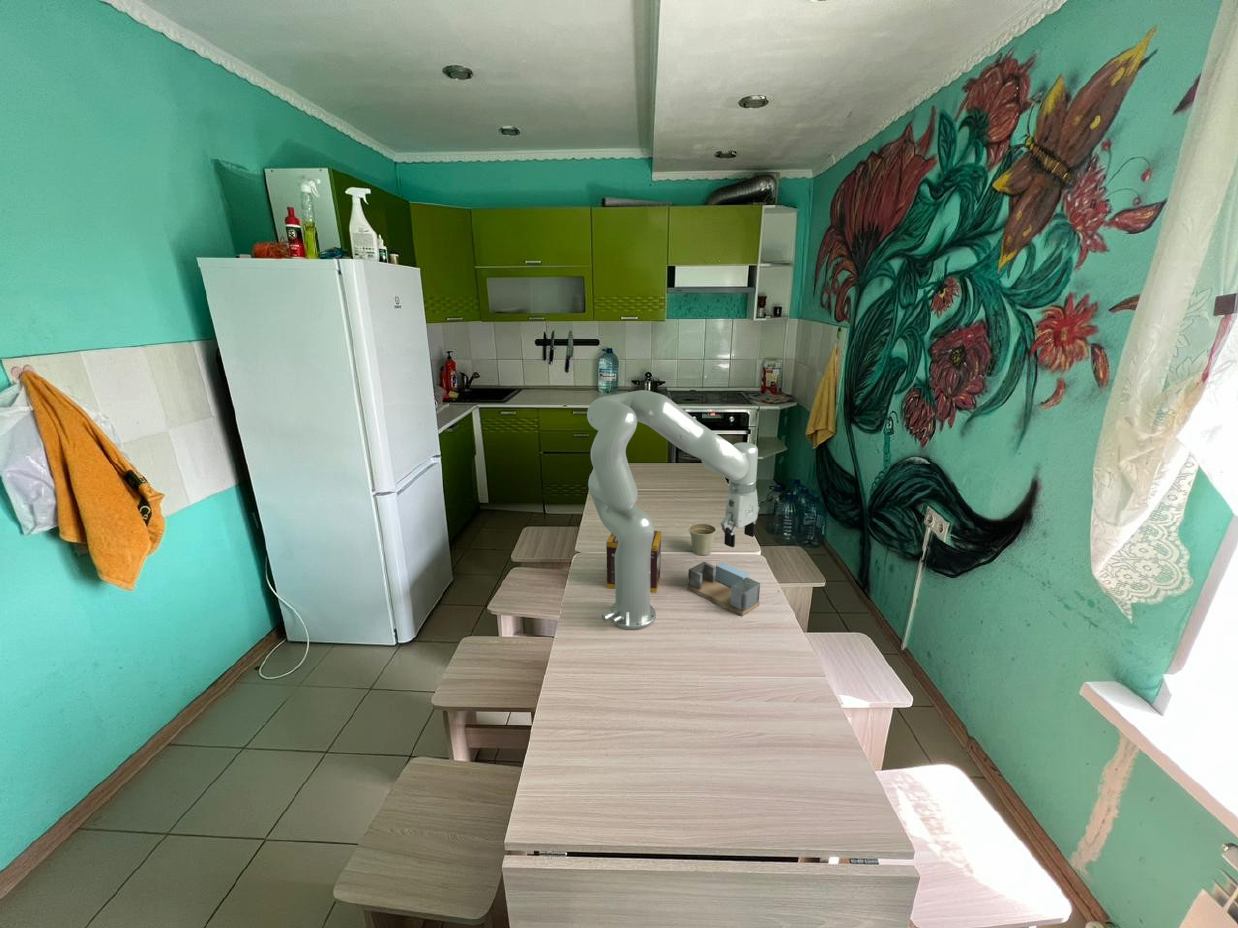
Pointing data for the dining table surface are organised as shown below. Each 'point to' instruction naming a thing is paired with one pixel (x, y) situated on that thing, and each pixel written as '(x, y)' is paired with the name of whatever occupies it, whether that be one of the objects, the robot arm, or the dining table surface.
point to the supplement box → (654, 561)
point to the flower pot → (702, 538)
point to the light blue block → (729, 574)
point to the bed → (712, 587)
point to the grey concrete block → (745, 594)
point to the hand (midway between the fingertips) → (739, 540)
